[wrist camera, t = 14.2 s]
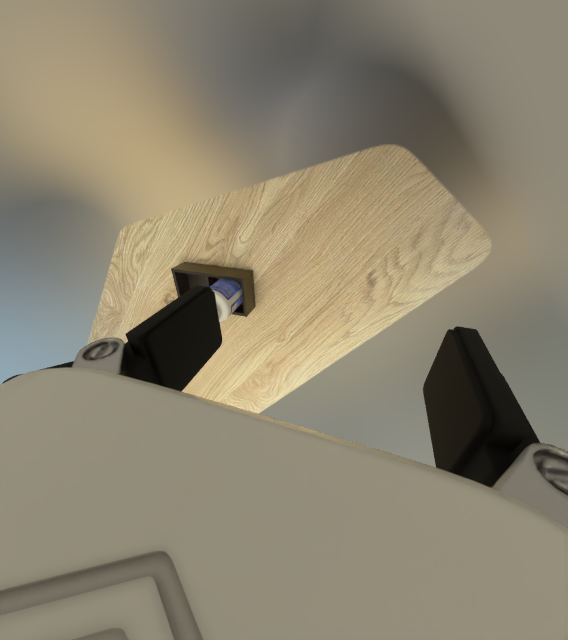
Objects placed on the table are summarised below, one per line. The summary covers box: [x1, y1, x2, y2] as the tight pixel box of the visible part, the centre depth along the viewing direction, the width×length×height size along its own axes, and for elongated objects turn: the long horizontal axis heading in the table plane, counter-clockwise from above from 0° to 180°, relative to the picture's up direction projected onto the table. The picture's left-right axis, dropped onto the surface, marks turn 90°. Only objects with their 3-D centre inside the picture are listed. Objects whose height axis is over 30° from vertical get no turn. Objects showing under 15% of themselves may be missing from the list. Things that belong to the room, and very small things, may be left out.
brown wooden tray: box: [171, 262, 255, 317], centre depth 44 cm, size 7×14×4 cm, turn 90°
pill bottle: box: [210, 278, 243, 322], centre depth 40 cm, size 5×5×10 cm
